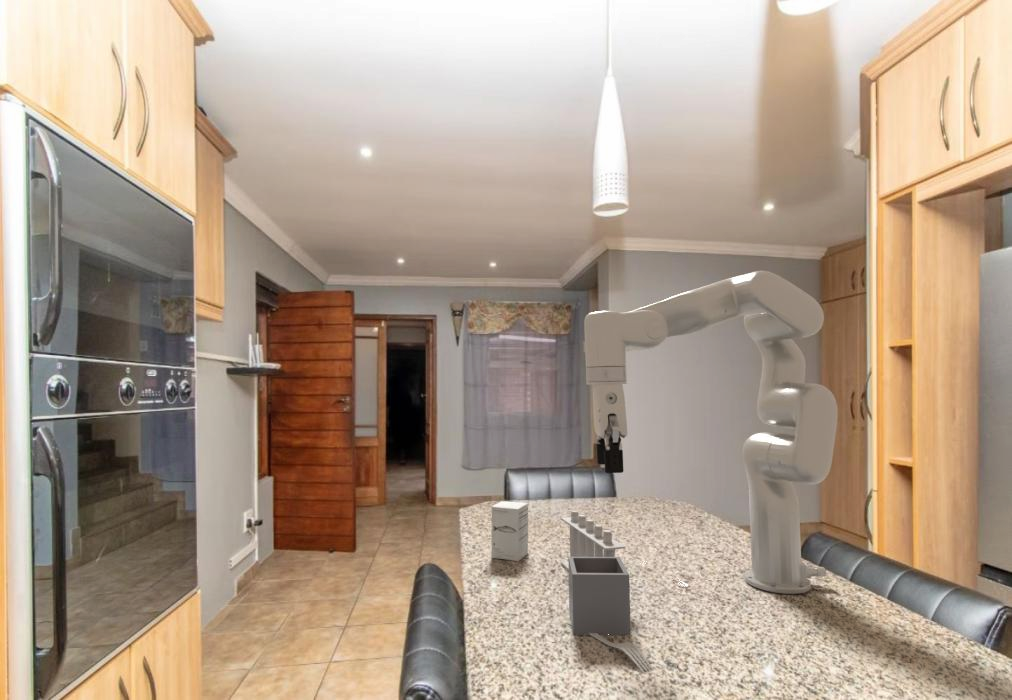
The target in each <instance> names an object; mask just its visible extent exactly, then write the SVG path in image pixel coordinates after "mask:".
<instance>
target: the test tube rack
mask: <svg viewBox="0 0 1012 700" xmlns="http://www.w3.org/2000/svg"><path fill="white" fill-rule="evenodd" d="M560 520H561V521H563V522H564V523H566V524H567V525H568V526H569V557H616V556H615V555H616V550H622V549H623V550H625V549H626V548H627V547H626V546H625V545H624V544H622V543H621V542H619V541H617V540H615V539H614V538H613V533H612V530H611V529H604V528H603V525H602V524H595V522H594V520H593V519H590V518H589V519H587V518H586V515H584V514H579V511H578V510H575V509H574V510H571V512H570V517H569V516H568V517H567V516H566V517H565V516H564V517H561V518H560ZM603 529H604V530H603ZM560 566H562V567H563V568H564V569H565V568H566V569H567V570H568V571H569V560H566V561H560ZM566 569H565V570H566ZM567 570H566V571H567ZM568 571H567V572H568Z"/></svg>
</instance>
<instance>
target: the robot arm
mask: <svg viewBox="0 0 1012 700" xmlns="http://www.w3.org/2000/svg"><path fill="white" fill-rule="evenodd" d="M740 317H743V327H744V329H745V332H746V333H747V334H748V336H749V337H750V339H751V340H752V341H753V342H754V344H755V345H756V347H757V348H758V351H759V354H760V355H761V359H762V367H761V374H760V375H761V376H760V383H759V388H758V389H759V390H758V395H757V404H756V414H757V417H758V419H759V420H760V421H761V422H762V423H763V424H766V425H768V426H769V427H770V426H771V427H776V428H784V429H785V428H786V429H795V433H794V434H789V433H781V432H772V431H771V432H770V431H769V432H768V431H767V432H766V431H765V432H763V431H762V432H757V433H754V434H752V435H750V436H749V437H748V438H747V439H746V440H745V441H744V443H743V447H742V453H741V454H742V456H741V457H742V462H743V466H744V470H745V474H746V479H747V486H748V503H749V531H750V532H749V534H750V557H751V558H750V560H751V568H750V569H748V570H746V571H745V572H744V573H743V579H744V581H745V582H746V583H747V584H748V585H750V586H751V587H753V588H757V589H759V590H763V591H766V592H771V593H776V594H784V595H786V594H787V595H795V594H796V595H797V594H803V593H807V592H809V591H810V590H811V588H812V584H811V581H810V580H809V579H811V578H812V577H816V578H817V577H818V578H819V577H820V578H825V577H827V570H826V568H825V566H814V565H813V564H812V563H811V564H809V563H808V564H806V563H803V562H802V550H801V549H802V547H801V527H800V526H801V525H800V522H801V521H800V502H799V496H798V494H797V491H796V488H795V487H794V484H793V483H797V484H803V485H818V484H821V482H823V481H824V480H825V479H826V478H827V477H828V475H829V474H830V471H831V468H832V463H833V457H834V449H835V448H834V447H835V441H836V436H837V435H836V434H837V433H836V432H837V426H838V417H839V416H838V415H839V414H838V413H839V412H838V411H839V409H838V403H837V400H836V397H835V395H834V394H833V393H832V391H831V390H830V389H829V388H827V387H826V386H824V385H822V384H818V383H813V382H811V383H810V382H809V383H807V382H806V383H805V381H806V369H807V368H806V367H807V366H806V365H807V364H806V358H805V356H804V354H803V352H802V351H801V349H800V347H799V346H798V345H797V343H796V342H795V341H794V339H804V338H808V337H812V336H813V335H815V334H817V333H818V332H820V330H821V329H822V327H823V324H824V322H825V321H824V320H825V319H824V318H825V314H824V311H823V308H822V306H821V305H820V304H819V302H818V301H817V300H816V299H815V298H814V297H813V296H812V295H810V294H809V293H807V292H805V291H804V290H802V289H801V288H800V287H798V286H797V285H795V284H793V283H792V282H790V281H789V280H787V279H786V278H783V277H782V276H780V275H778V274H776V273H774V272H771V271H768V270H755V271H752V272H749V273H748V272H747V273H745V274H740V275H737V276H733V277H729V278H726V279H722V280H719V281H716V282H713V283H710V284H707V285H704V286H701V287H699V288H698V287H697V288H694V289H692V290H688V291H685V292H682V293H679V294H677V295H673V296H671V297H669V298H666V299H664V300H661V301H657V302H655V303H653V304H652V303H651V304H649V305H646V306H643V307H639V308H637V309H633V310H631V311H626V312H624V311H623V312H619V311H615V310H601V311H594V312H593V311H592V312H589V313H588V314H586V316H585V317H584V322H583V323H584V347H585V348H584V352H585V379H586V381H585V382H586V385H587V386H592V409H593V410H592V412H593V415H592V417H593V425H594V426H593V429H594V433H595V435H596V436H597V438H596V442H597V443H596V461H597V464H598V465H604V472H605V473H606V474H621V473H622V474H623V472H624V450H623V443H622V439H626V438H627V437H628V424H627V423H628V422H627V410H626V401H625V399H626V398H625V392H624V386H623V385H627V384H628V379H627V378H628V377H627V376H628V375H627V356H626V355H627V354H626V353H627V352H631V351H642V350H643V351H645V350H650V349H655V348H656V347H659V346H660V345H662V344H663V343H664V341H665V340H666V339H667V338H670V337H675V336H676V337H677V336H683V335H685V336H686V335H689V334H694V333H697V332H702V331H705V330H707V329H709V328H712V327H714V326H717V325H719V324H723V323H726V322H729V321H731V320H734V319H737V318H740Z"/></svg>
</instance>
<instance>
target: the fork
mask: <svg viewBox="0 0 1012 700" xmlns="http://www.w3.org/2000/svg"><path fill="white" fill-rule="evenodd" d="M568 621H569V622H567V621H566V622H565V624H567V623H568V624H567V625H568V626H571V627H572V623H571V620H568ZM588 636H592V637H593V638H595V639H596V640H598V641H600V642H601V643H603V644H605V645H606V646H609V647H613V648H615V649H616V648H617V649H619V650H621V651H622V652H623V653H624V654H625V655H626V656H628V657H629V659H630V660H631V661H632V662H633V663H634V664H635V665H636V666H637V667H638V669H639V670H640V671H641V672H642V673H643V674H646V673H647V674H648V673H650V672H651V673H652V672H653V671H655V669H654V668H653V666H652V665H651V663H650V662H649V661H648V659H647V658H646V656H644V654H643V653H642V651H640V649H639V648H638V647H637V646H636V645H635V644H634V643H631V642H628V641H626V642H621V643H619V644H617V643H613V642H611V641H609V640H608V639H606V638H604V637H603V636H602V635H599V634H597V633H589V635H588Z"/></svg>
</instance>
